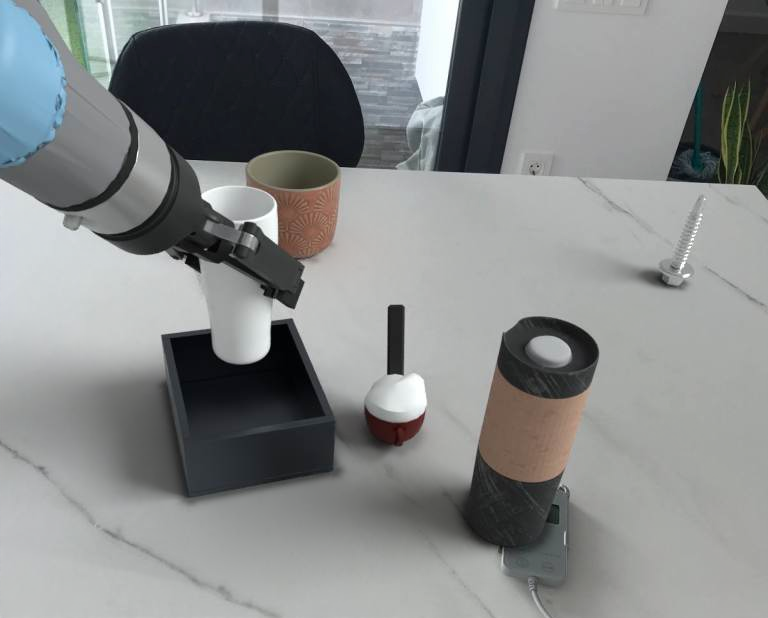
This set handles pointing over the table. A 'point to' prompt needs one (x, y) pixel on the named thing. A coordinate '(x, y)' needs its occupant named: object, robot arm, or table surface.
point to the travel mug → (529, 427)
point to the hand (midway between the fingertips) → (260, 283)
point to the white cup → (239, 281)
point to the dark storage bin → (247, 412)
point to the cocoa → (396, 390)
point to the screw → (683, 248)
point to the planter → (299, 197)
